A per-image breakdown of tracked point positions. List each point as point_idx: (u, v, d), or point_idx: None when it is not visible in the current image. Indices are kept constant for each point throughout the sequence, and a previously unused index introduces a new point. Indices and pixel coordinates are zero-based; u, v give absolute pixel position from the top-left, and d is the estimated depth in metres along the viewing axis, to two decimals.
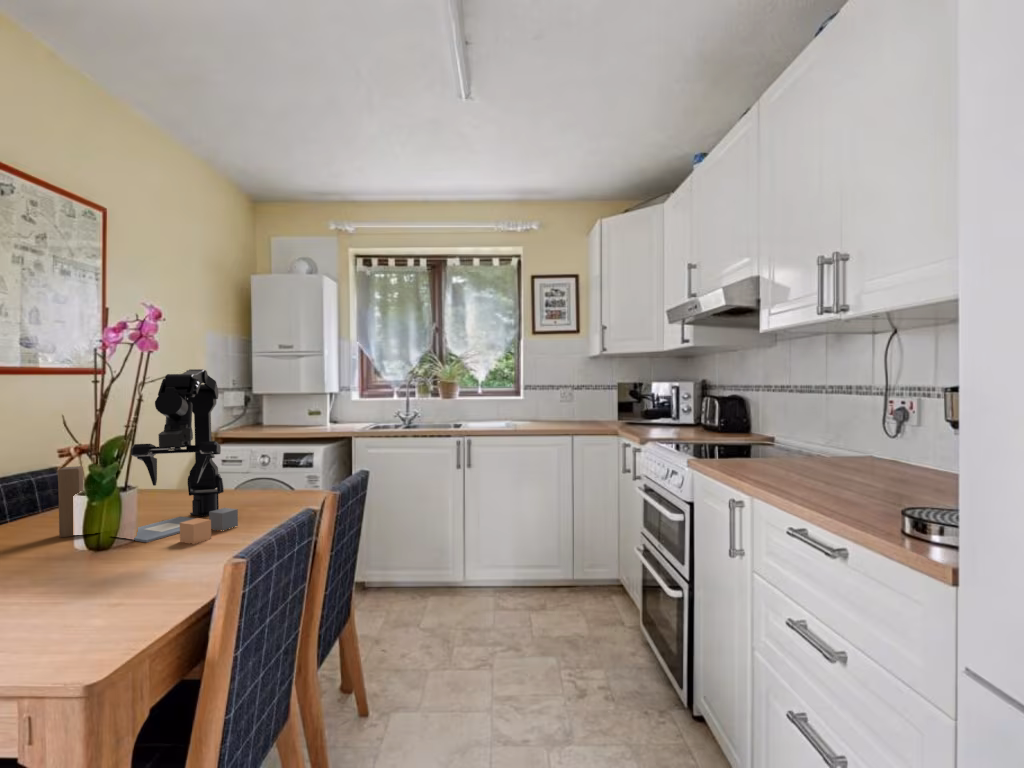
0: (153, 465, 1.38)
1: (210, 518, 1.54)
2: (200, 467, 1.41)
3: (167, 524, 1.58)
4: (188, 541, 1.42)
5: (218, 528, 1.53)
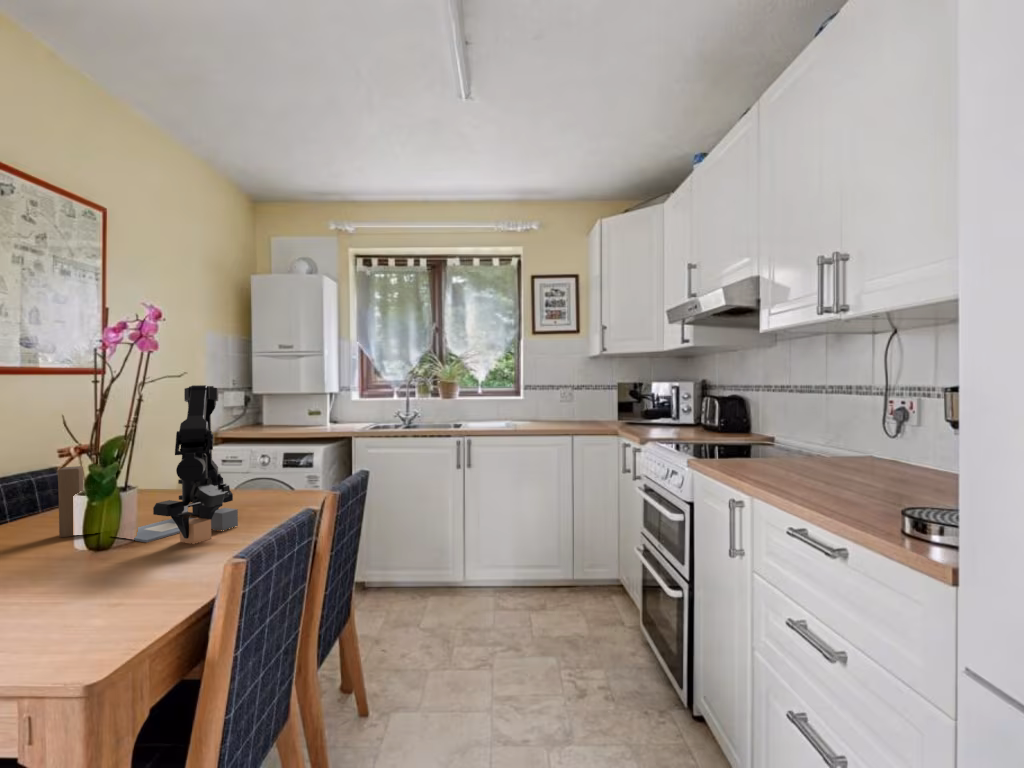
0: None
1: None
2: (211, 518, 1.48)
3: (167, 524, 1.58)
4: (188, 541, 1.42)
5: (218, 528, 1.53)
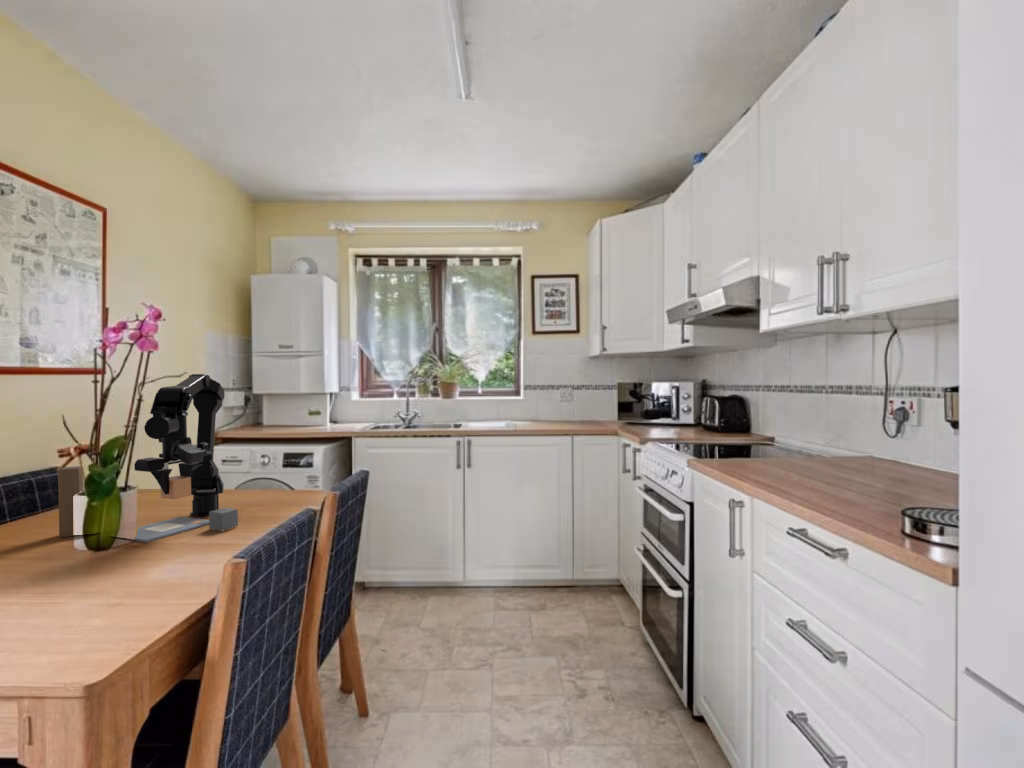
0: None
1: (210, 518, 1.54)
2: (190, 476, 1.54)
3: (167, 524, 1.58)
4: (169, 496, 1.49)
5: (218, 528, 1.53)
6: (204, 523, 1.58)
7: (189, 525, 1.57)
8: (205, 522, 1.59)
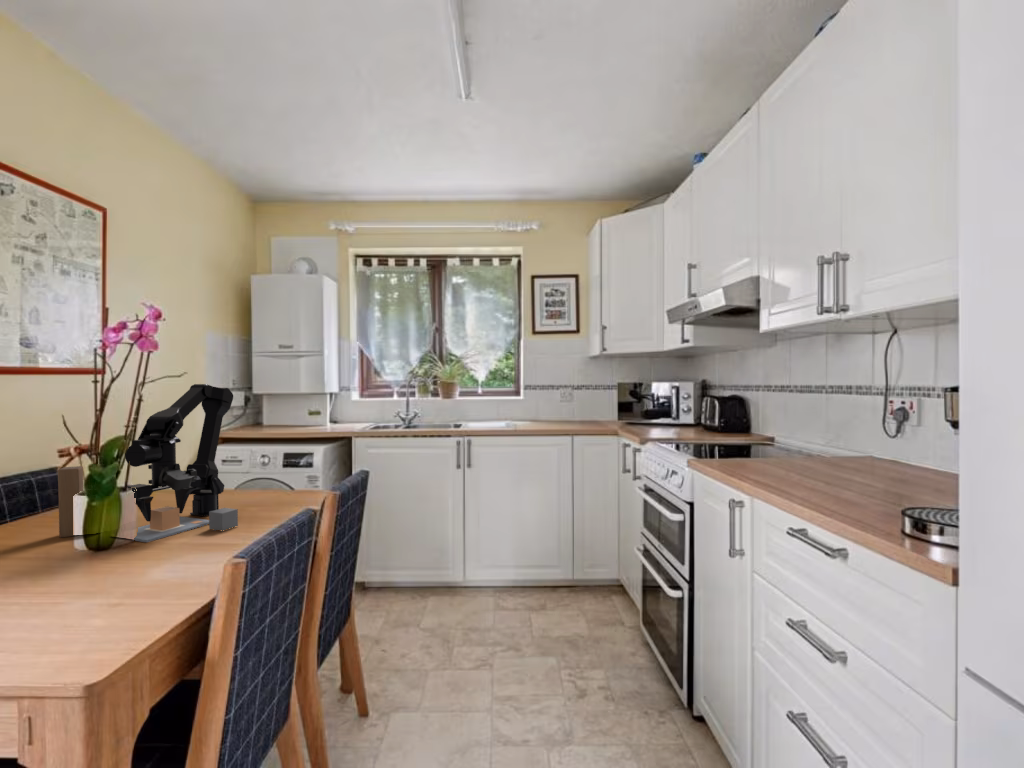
0: None
1: (210, 518, 1.54)
2: (186, 499, 1.59)
3: None
4: (157, 527, 1.52)
5: (218, 528, 1.53)
6: (204, 523, 1.58)
7: (189, 525, 1.57)
8: (205, 522, 1.59)
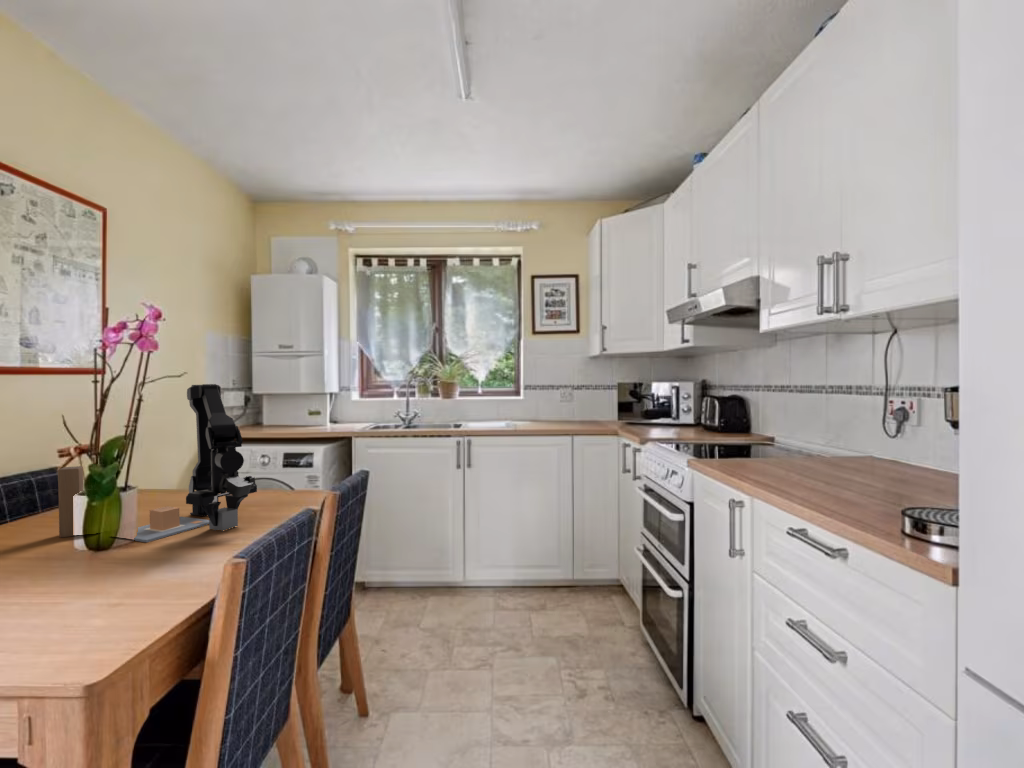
0: None
1: None
2: (237, 507, 1.59)
3: None
4: (157, 527, 1.52)
5: (218, 528, 1.53)
6: (204, 523, 1.58)
7: (189, 525, 1.57)
8: (205, 522, 1.59)
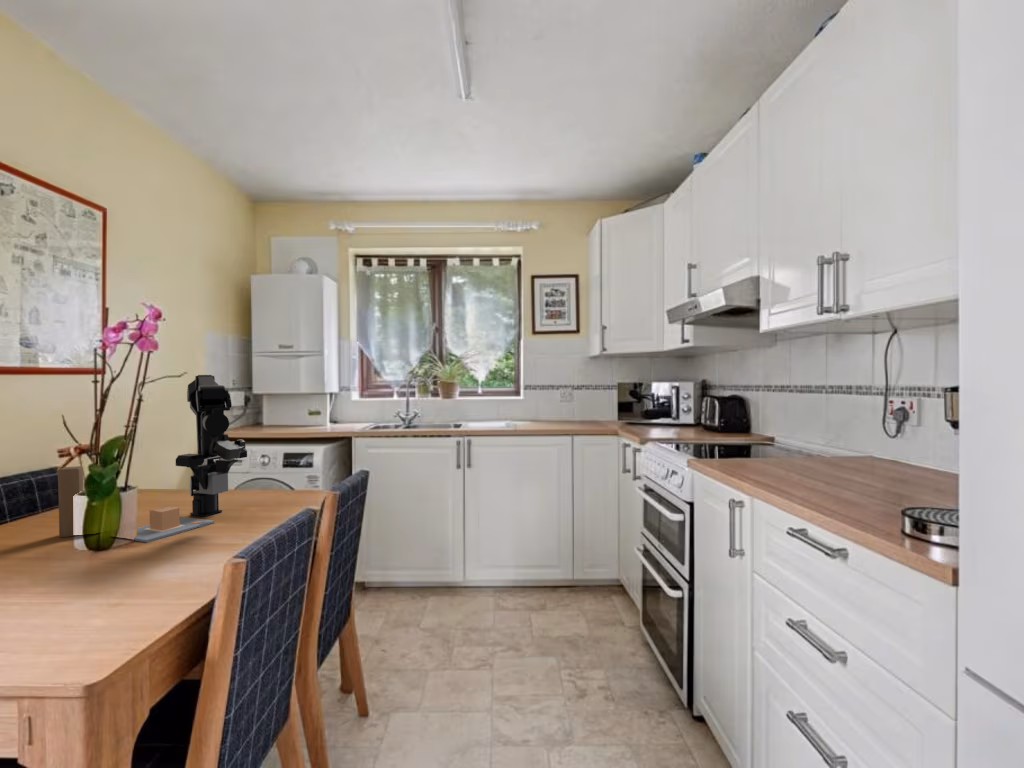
0: None
1: None
2: (227, 472, 1.59)
3: None
4: (157, 527, 1.52)
5: (208, 491, 1.53)
6: (204, 523, 1.58)
7: (189, 525, 1.57)
8: (205, 522, 1.59)
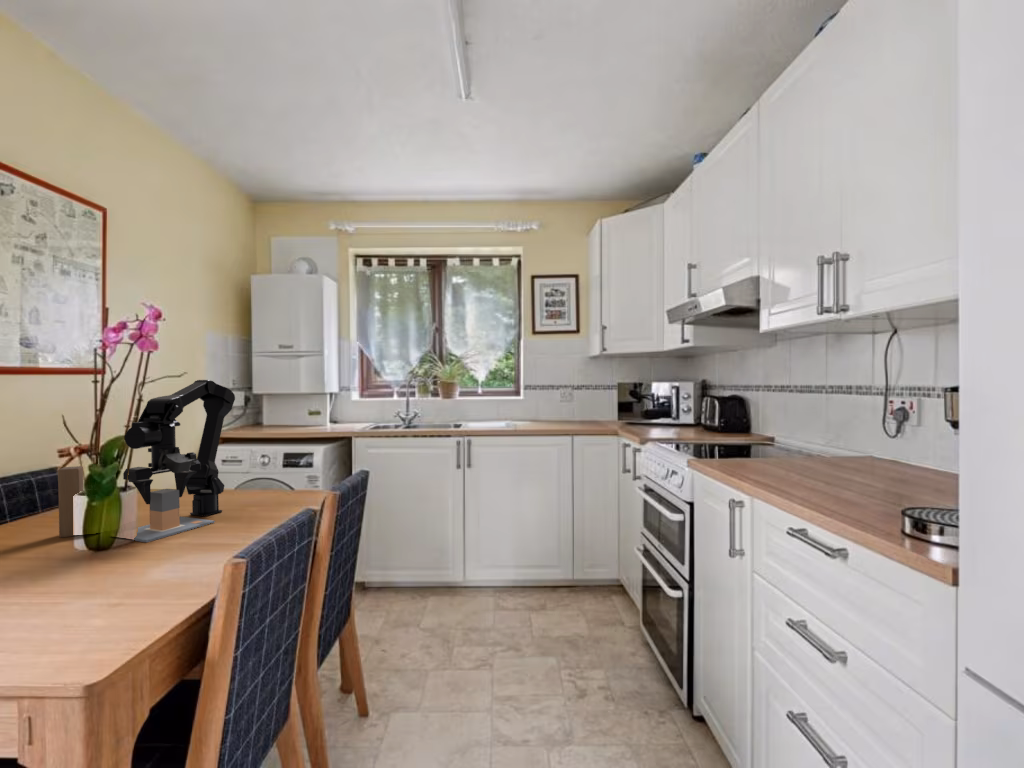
0: None
1: None
2: (185, 483, 1.59)
3: None
4: (157, 527, 1.52)
5: (158, 508, 1.52)
6: (204, 523, 1.58)
7: (189, 525, 1.57)
8: (205, 522, 1.59)
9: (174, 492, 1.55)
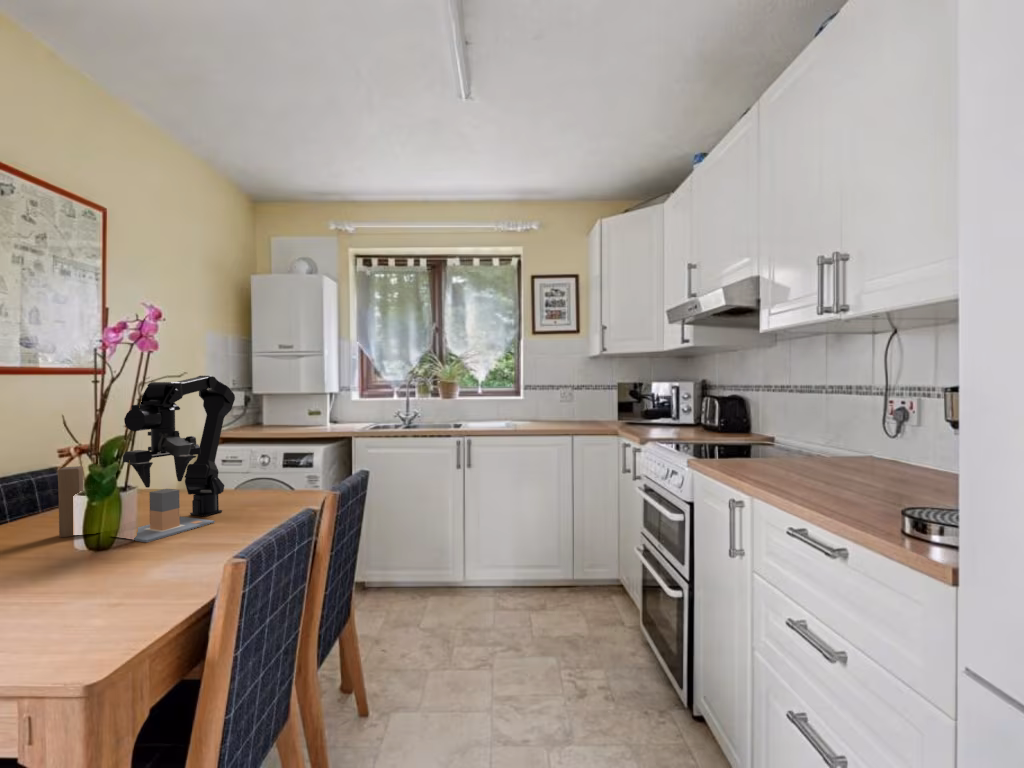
0: None
1: (150, 499, 1.53)
2: (185, 467, 1.59)
3: None
4: (157, 527, 1.52)
5: (158, 508, 1.52)
6: (204, 523, 1.58)
7: (189, 525, 1.57)
8: (205, 522, 1.59)
9: (174, 492, 1.55)
